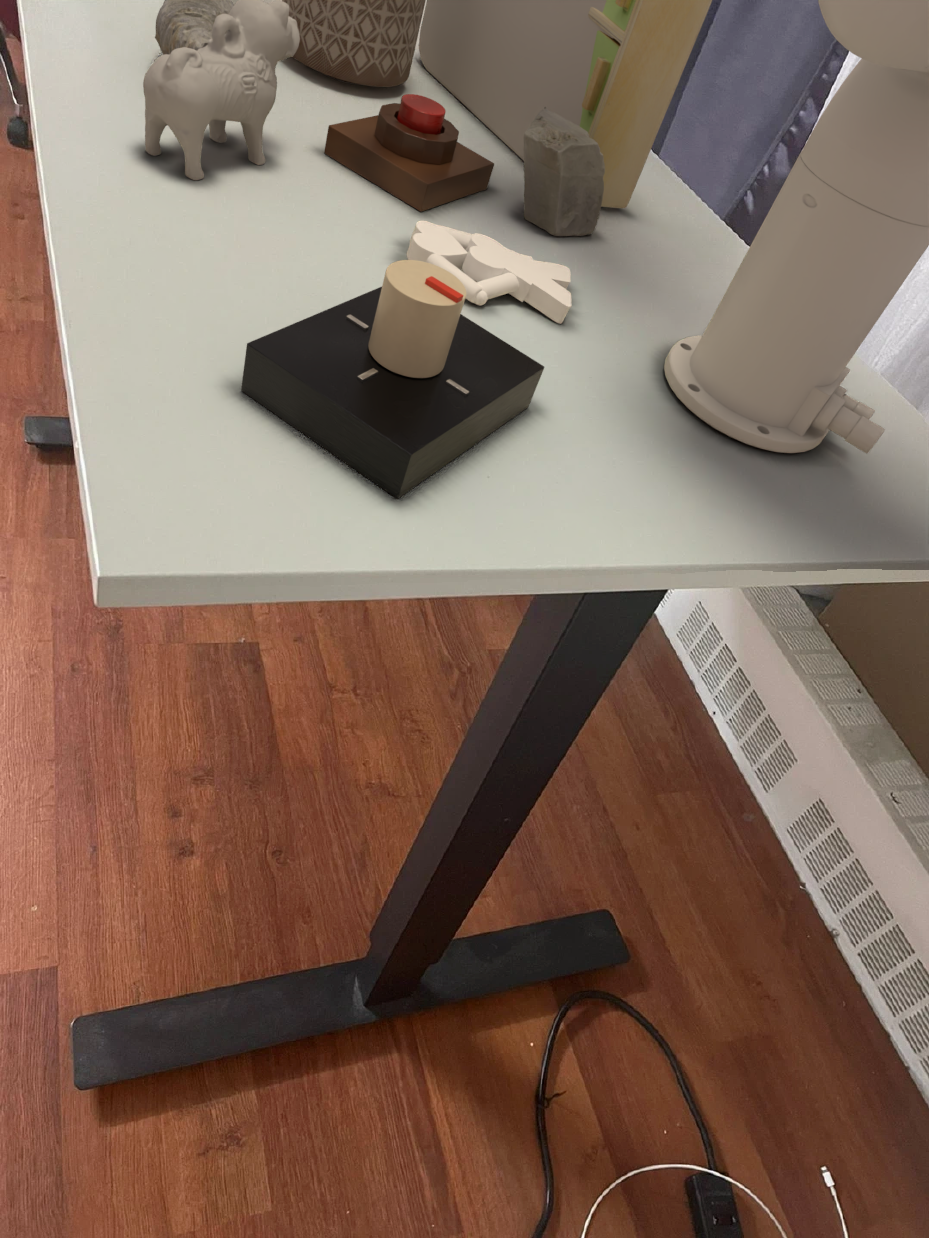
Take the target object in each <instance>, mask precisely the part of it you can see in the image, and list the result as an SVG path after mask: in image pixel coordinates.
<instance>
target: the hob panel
mask: <svg viewBox="0 0 929 1238" xmlns="http://www.w3.org/2000/svg"><path fill="white" fill-rule="evenodd" d="M381 289H382V286H379V287H376V288H375V289H372V290H371V291H368V292H365V293H363V294H360V295H358V296H355V297H354V298H350V299H349V300H347V301H344V302H342V303H339V304H337V305H334V306H332V307H330V308H327V309H324V310H323V311H320V312H317V313H316V314H312V315H310V316H309V317H306V318H303V319H301V320H299V321H297V322H294V323H291V324H289V325H287V326H285V327H282V328H280V329H277V330H275V331H273V332H270V333H268V334H265V335H263V336H261V337H258V338H256V339H253V340H251V341H249V342H247V343H246V346H245V347H246V349H245V357H244V365H243V372H242V380H241V386H240V387H241V388H240V391H241V392H243V393H244V394H246V396H248V397H250V398H251V399H252V400H254V401H255V402H257V403H258V404H259V405H261V406H263V407H264V408H266V409H267V410H269V411H270V412H271V413H273V414H274V415H276V416H277V417H278V418H280V419H281V420H282V421H284V422H286V423H287V424H289V425H290V426H292V427H293V428H294V429H296V430H297V431H299V433H302V435H305V436H306V437H307V438H309V439H310V440H312V441H313V442H314V443H316V444H318V446H320V447H322V448H323V449H325V450H326V451H328V452H329V453H330V454H331V455H333V456H335V457H336V458H337V459H339V460H341V461H342V462H343V463H345V464H346V465H348V466H349V467H350V468H352V469H353V470H355V471H356V472H357V473H359V474H361V475H362V476H363V477H365V478H366V479H367V480H369V481H371V482H372V483H373V484H375V485H377V486H378V487H379V488H381V489H382V490H383V491H385V492H386V493H388V494H389V495H390V496H392V497H394V498H395V499H400V498H401V497H403V496H404V495H405V494H407V493H408V492H410V491H411V490H412V489H414V488H415V487H417V486H418V485H420V484H421V483H422V482H424V481H425V480H427V479H428V478H430V477H431V476H432V475H434V474H436V473H437V472H438V471H440V470H441V469H442V468H444V467H445V466H447V465H449V464H450V463H451V462H453V461H454V460H455V459H456V458H458V457H460V456H461V455H462V454H464V453H466V451H468V450H470V449H471V448H472V447H474V446H475V445H477V444H478V443H480V442H481V441H482V440H484V439H485V438H486V437H488V436H490V435H491V434H492V433H493V432H495V431H497V430H498V429H499V428H501V427H502V426H503V425H505V424H506V423H508V422H509V421H510V420H512V419H514V418H515V417H516V416H518V415H519V414H521V413H522V412H524V411H525V410H526V409H528V408H529V407H530V404H531V402H532V399H533V397H534V394H535V392H536V389H537V387H538V385H539V382H540V380H541V377H542V374H543V372H544V370H545V366H544V365H542V364H541V363H540V362H538V361H537V360H535V359H533V358H531V357H530V356H528V355H527V354H525V353H524V352H522V351H520V350H519V349H518V348H516V347H514V346H512V345H511V344H509V343H508V342H506V341H504V340H503V339H501V338H500V337H498V336H497V335H495V334H494V333H492V332H490V331H488V330H487V329H485V328H484V327H482V326H481V325H479V324H478V323H476V322H474V321H473V320H471V319H470V318H468V317H466V316H465V315H463V314H462V313H461V314H460V317H459V321H458V324H457V327H456V330H455V333H454V337H453V340H452V343H451V346H450V349H449V353H448V356H447V359H446V362H445V365H444V368H443V370H442V371H441V372H440V373H439V374H437V375H435V376H433V377H428V378H412V377H407V376H403V375H400V374H397V373H394V372H392V371H390V370H388V369H386V368H385V367H383V366H382V365H380V364H379V363H378V362H377V361H376V360H375V359H374V358H373V357H372V355H371V353H370V351H369V347H368V345H369V340H370V335H371V331H372V327H373V323H374V319H375V314H376V310H377V306H378V302H379V298H380V293H381Z"/></svg>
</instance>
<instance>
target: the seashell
mask: <svg viewBox="0 0 929 1238" xmlns="http://www.w3.org/2000/svg"><path fill="white" fill-rule="evenodd" d="M234 4H235V3H234V2H233V0H163V3H162V5H161V7H160V8H159V10H158V13H157V15H156V19H155V34H154V35H155V36H154V39H155V40H156V42H157V44H158V46H159V49H160V51H161V54H162V55H165V54H171V52H172V51H173V50H174V49H177V48H182V47H187V48H191V49H194V50H196V51H197V50H198V49H200V48H203V47H205V46H207V45H208V41H209V40H210V39H212V29H213V25H214V22H215V19H216V17H217V16H219V15H221V14H228V15H229V14H230V11H231V9H232V7H233V6H234ZM226 33H227V31H226V32H225V34H226Z"/></svg>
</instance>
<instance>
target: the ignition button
mask: <svg viewBox="0 0 929 1238" xmlns="http://www.w3.org/2000/svg"><path fill="white" fill-rule="evenodd" d="M400 99H401V100H400V103H399V104H400V108H399V112H398V117H397V120H398V122H399V123H401V124H403V125H405V126H406V127H408V128H410V129H412V130H415V131H418V132H421V133H425V134H433V135H438V134H440V133H441V129H442V125H443V121H444V119H445V117H446V114H447V113H446V109H445V107H444V106H443V105H442V104H441V103H439V102H438V101H436V100H434V99H432V98H430V97H427V96H424V95H420V94H415V93H407V94H404V95H402V97H401V98H400Z"/></svg>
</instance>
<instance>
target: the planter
mask: <svg viewBox="0 0 929 1238" xmlns="http://www.w3.org/2000/svg"><path fill="white" fill-rule="evenodd" d="M281 1H283V2H285V3H287V4H288V6H289V16H290V17H291V18H292V19H294V20H296V22H297V28H298V31H299V36H300V42H299V47H298V49H297V51H296V53H295V54H294V56H293V57H292V58H293V59H294V60H296V61H297V62H299V63H301V64H302V65H304V66H306V67H308V68H310V69H312V70H314V71H316V72H318V73H320V74H322V75H324V76H326V77H328V78H330V79H333V80H336V81H339V82H342V83H345V84H350V85H356V86H368V87H376V88H391V87H397V86H399V85H402V84H404V83H406V81H407V80H408V79H409V77H410V74H411V69H412V65H413V61H414V55H415V50H416V47H417V41H418V39H419V37H418V36H419V34H420V29H421V25H422V20H423V16H424V11H425V7H426V2H427V0H281Z"/></svg>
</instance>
